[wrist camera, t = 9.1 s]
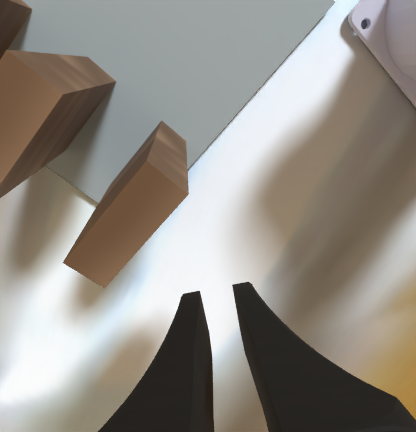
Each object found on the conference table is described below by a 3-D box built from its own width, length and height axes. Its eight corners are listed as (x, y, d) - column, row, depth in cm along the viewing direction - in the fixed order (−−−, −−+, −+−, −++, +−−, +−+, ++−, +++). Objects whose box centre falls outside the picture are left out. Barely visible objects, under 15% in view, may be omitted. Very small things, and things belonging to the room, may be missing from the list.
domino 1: (116, 81, 18) (62, 94, 10) (65, 150, 20) (-20, 212, 11) (87, 56, 18) (6, 49, 10) (36, 130, 19) (-74, 179, 11)
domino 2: (186, 140, 20) (188, 194, 12) (134, 201, 21) (104, 288, 13) (161, 120, 19) (146, 160, 11) (110, 184, 21) (62, 262, 12)
